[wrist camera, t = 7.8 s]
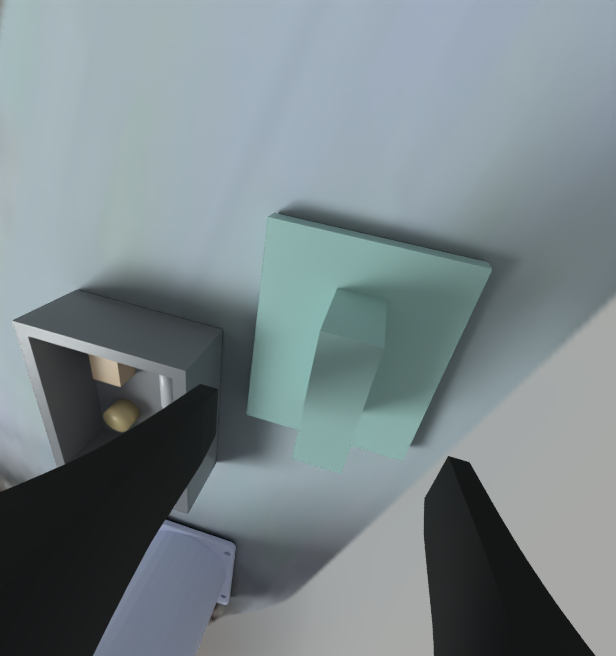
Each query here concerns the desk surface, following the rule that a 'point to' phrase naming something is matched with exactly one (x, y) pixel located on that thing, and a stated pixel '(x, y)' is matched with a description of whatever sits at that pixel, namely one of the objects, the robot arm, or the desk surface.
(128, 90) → the desk surface
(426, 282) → the lid
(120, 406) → the parts tub
